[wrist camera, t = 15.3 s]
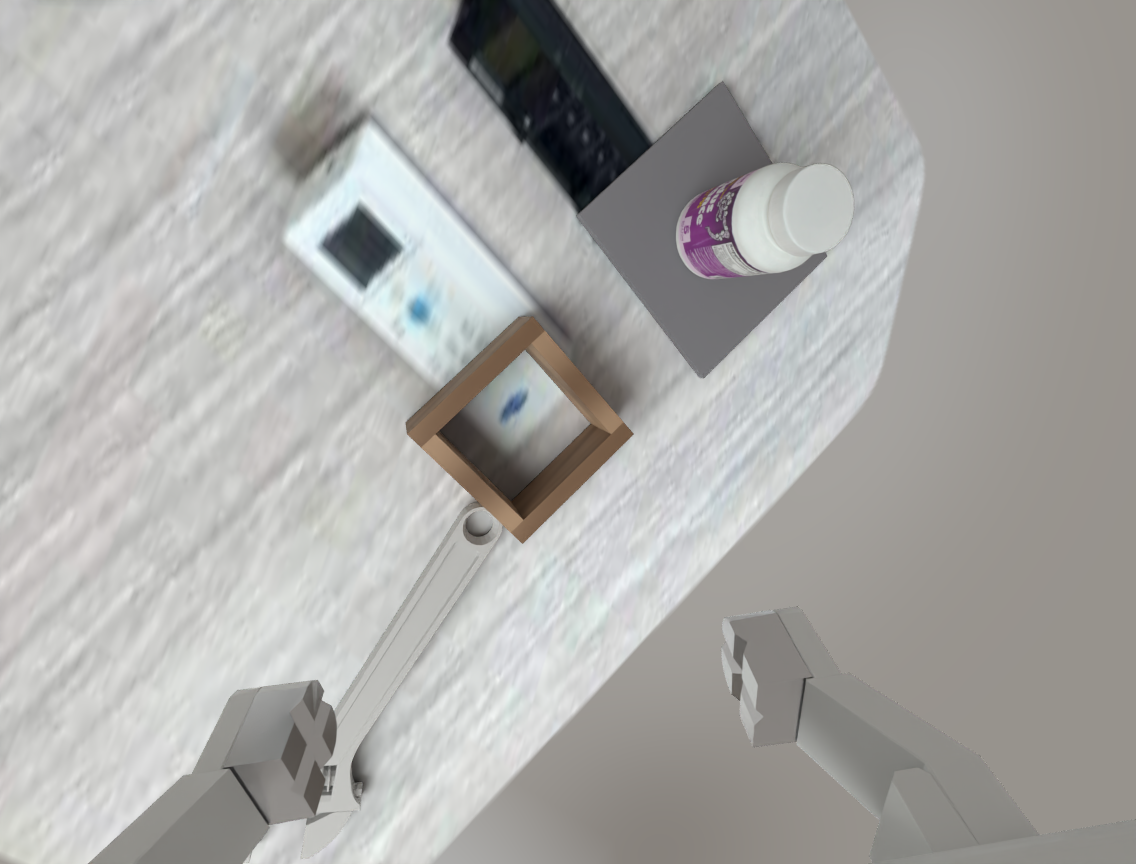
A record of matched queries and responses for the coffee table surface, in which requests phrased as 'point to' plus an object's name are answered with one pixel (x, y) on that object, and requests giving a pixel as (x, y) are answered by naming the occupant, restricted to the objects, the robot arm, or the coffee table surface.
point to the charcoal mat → (648, 232)
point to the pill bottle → (765, 221)
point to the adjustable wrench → (393, 670)
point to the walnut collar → (563, 470)
